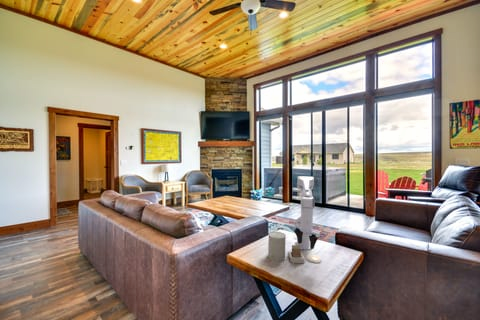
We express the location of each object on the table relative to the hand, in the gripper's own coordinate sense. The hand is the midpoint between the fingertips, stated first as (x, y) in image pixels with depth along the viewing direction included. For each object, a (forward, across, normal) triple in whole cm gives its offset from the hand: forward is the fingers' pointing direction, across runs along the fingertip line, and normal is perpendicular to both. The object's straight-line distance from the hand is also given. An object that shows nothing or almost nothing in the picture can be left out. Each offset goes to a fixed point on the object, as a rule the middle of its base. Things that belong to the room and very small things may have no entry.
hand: (305, 245), depth 109 cm
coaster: (+10, -1, +9) cm, 14 cm away
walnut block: (+10, -6, 0) cm, 12 cm away
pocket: (+10, -6, 0) cm, 12 cm away
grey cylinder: (+10, -15, -6) cm, 19 cm away
